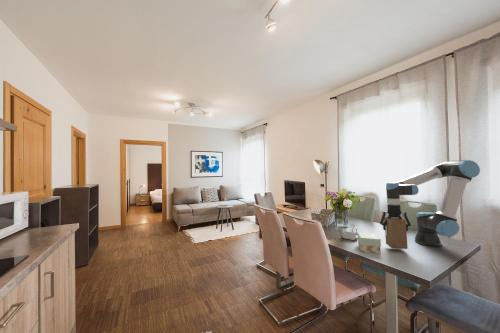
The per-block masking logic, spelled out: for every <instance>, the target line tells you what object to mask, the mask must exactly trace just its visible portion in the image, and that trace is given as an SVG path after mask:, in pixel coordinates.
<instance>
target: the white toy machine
mask: <svg viewBox="0 0 500 333" xmlns="http://www.w3.org/2000/svg"><path fill="white" fill-rule="evenodd" d="M350 228H351V231H348V230H342V232H341V233H342V235H341V236H340V237H341V239H347V240H352V241H355V242H358V233H359V232H358V231H357V230H358V227H357V226H356V225H355V224H353V223H351V224H350ZM354 228H355V231H353V230H354Z"/></svg>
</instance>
